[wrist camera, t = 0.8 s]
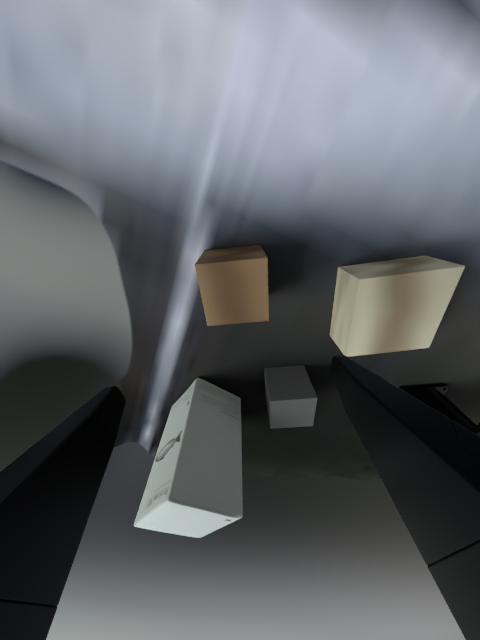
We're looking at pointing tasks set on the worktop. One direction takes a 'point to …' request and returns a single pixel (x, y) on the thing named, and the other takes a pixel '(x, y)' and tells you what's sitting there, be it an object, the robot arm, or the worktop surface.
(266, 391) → the gray cube
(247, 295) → the walnut cube
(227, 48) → the worktop surface
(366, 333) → the birch block
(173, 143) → the worktop surface
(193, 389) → the supplement box
